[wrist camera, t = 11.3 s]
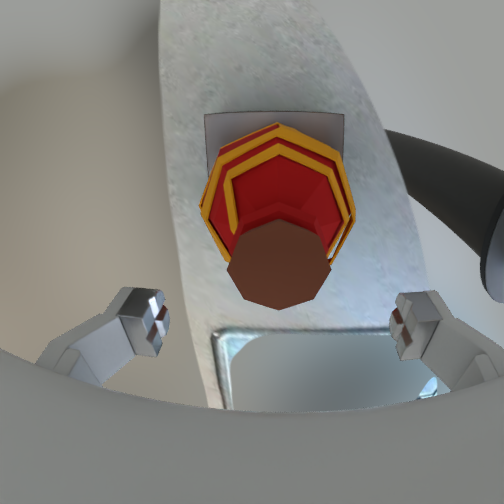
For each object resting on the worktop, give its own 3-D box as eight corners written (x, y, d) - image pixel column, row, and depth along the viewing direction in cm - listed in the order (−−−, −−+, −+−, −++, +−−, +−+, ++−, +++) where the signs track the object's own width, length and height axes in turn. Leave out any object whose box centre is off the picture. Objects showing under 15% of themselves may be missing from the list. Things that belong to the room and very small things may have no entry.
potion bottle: (195, 180, 25) (115, 269, 12) (274, 95, 21) (277, 73, 8) (277, 251, 28) (278, 380, 15) (357, 180, 24) (440, 270, 10)
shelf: (328, 112, 27) (344, 114, 21) (324, 213, 33) (336, 239, 27) (218, 112, 28) (203, 114, 22) (224, 213, 34) (213, 239, 28)
